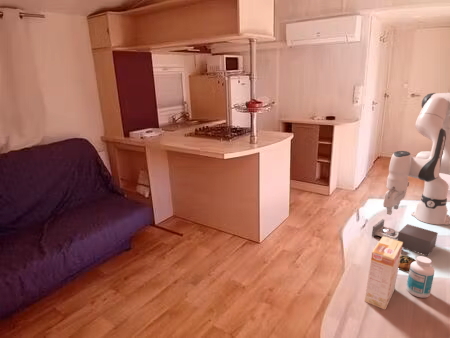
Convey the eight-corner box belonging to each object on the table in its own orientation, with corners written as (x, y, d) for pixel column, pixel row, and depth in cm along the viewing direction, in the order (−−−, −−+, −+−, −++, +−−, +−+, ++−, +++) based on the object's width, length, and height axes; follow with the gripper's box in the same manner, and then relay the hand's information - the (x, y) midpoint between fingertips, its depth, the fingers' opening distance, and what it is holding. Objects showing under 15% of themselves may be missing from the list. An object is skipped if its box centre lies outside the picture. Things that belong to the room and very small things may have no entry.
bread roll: (424, 275, 124) (424, 264, 123) (393, 273, 128) (393, 262, 127) (418, 262, 134) (418, 251, 134) (389, 260, 138) (389, 250, 137)
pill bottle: (422, 286, 117) (429, 254, 114) (433, 299, 110) (441, 265, 107) (402, 285, 118) (408, 253, 114) (411, 297, 111) (418, 264, 107)
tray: (380, 228, 165) (382, 219, 163) (408, 237, 156) (410, 227, 154) (371, 236, 156) (372, 226, 154) (399, 245, 147) (401, 235, 145)
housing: (404, 236, 157) (407, 224, 155) (434, 246, 148) (437, 232, 146) (396, 245, 148) (398, 232, 146) (427, 256, 139) (430, 241, 137)
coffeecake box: (374, 281, 120) (382, 235, 115) (395, 289, 115) (404, 241, 110) (363, 301, 108) (371, 251, 103) (385, 310, 104) (394, 258, 99)
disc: (396, 233, 156) (397, 230, 155) (392, 236, 152) (393, 233, 151) (384, 229, 160) (384, 226, 160) (380, 232, 156) (380, 229, 155)
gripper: (396, 191, 140) (392, 219, 144) (410, 181, 154) (405, 207, 158) (382, 188, 144) (377, 215, 148) (396, 179, 158) (392, 204, 162)
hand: (392, 211), depth 153 cm, fingers open, 8 cm apart
